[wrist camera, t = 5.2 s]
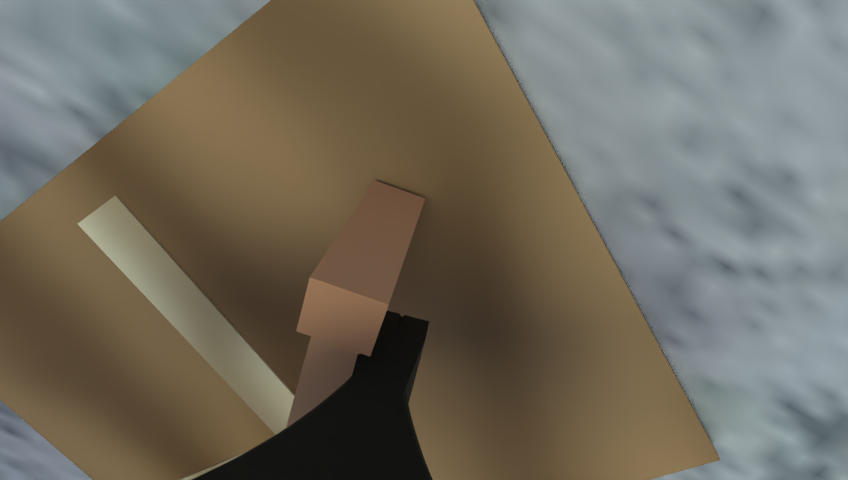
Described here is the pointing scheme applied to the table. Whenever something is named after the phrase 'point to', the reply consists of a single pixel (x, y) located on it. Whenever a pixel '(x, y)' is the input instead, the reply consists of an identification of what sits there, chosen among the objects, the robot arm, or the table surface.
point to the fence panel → (353, 291)
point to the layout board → (306, 246)
